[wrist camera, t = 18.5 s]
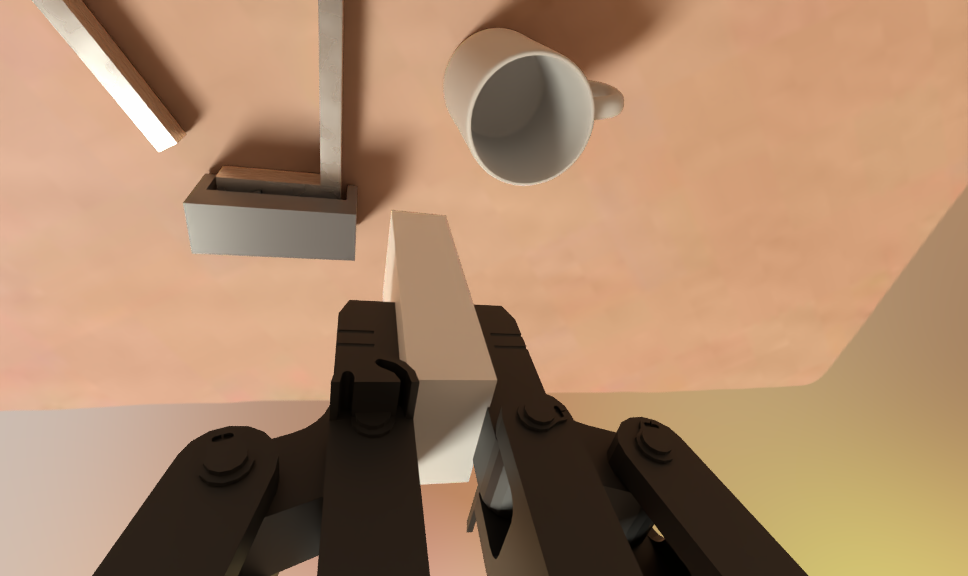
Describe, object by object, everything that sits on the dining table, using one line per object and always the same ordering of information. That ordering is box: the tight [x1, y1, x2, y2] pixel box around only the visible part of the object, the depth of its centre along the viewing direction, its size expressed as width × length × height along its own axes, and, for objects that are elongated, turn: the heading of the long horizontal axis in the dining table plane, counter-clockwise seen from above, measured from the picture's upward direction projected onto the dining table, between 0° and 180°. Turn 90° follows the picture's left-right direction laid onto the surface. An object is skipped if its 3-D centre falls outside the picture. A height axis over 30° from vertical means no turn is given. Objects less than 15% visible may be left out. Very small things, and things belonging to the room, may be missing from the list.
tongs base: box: [216, 0, 344, 200], centre depth 34 cm, size 28×9×3 cm, turn 170°
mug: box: [443, 28, 624, 186], centre depth 35 cm, size 12×8×11 cm
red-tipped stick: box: [32, 0, 186, 152], centre depth 31 cm, size 17×2×2 cm, turn 21°
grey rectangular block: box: [183, 174, 357, 261], centre depth 38 cm, size 4×12×6 cm, turn 80°
